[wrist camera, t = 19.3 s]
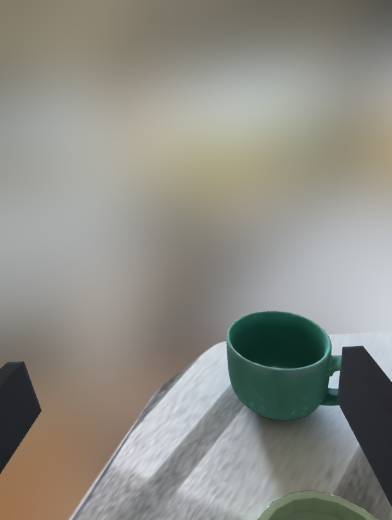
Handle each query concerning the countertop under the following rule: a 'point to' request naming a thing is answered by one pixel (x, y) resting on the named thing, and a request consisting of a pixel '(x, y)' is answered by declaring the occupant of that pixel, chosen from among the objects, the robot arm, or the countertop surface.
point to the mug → (281, 364)
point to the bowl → (314, 508)
